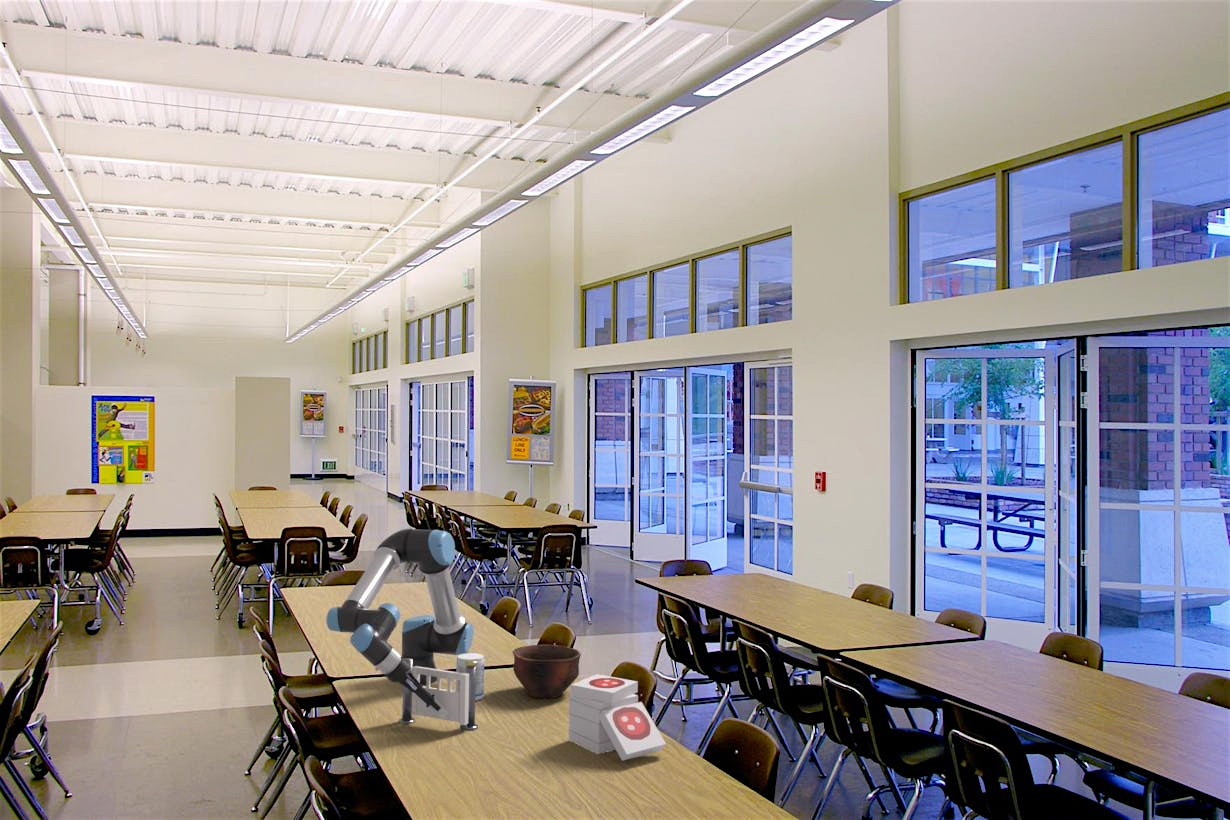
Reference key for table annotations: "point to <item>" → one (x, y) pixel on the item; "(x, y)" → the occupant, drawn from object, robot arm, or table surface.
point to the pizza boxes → (611, 718)
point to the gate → (444, 695)
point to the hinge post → (407, 700)
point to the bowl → (546, 669)
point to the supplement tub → (479, 672)
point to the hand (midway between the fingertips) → (445, 715)
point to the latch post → (471, 693)
